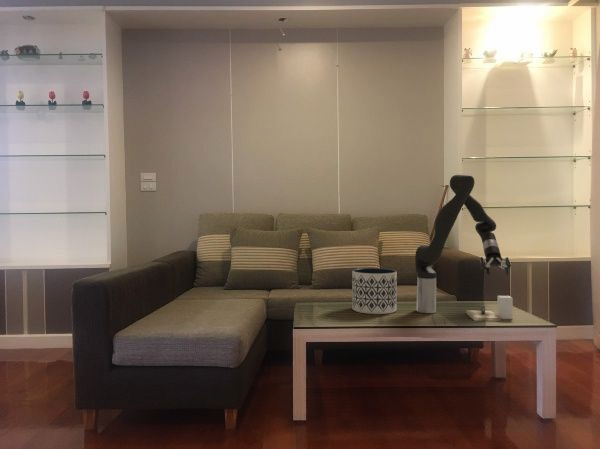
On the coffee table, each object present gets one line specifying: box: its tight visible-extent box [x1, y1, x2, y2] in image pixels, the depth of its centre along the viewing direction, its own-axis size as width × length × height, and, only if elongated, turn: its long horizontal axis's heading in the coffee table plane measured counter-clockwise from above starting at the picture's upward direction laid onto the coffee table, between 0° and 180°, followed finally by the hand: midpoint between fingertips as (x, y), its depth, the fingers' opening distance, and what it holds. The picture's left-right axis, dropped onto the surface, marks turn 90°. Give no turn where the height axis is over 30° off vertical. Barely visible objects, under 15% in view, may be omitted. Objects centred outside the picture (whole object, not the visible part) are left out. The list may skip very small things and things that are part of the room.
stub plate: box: [465, 304, 502, 322], centre depth 238 cm, size 12×16×6 cm
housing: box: [496, 295, 514, 320], centre depth 237 cm, size 5×5×10 cm
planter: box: [351, 267, 398, 315], centre depth 254 cm, size 22×22×20 cm
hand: (497, 274), depth 249 cm, fingers open, 8 cm apart
